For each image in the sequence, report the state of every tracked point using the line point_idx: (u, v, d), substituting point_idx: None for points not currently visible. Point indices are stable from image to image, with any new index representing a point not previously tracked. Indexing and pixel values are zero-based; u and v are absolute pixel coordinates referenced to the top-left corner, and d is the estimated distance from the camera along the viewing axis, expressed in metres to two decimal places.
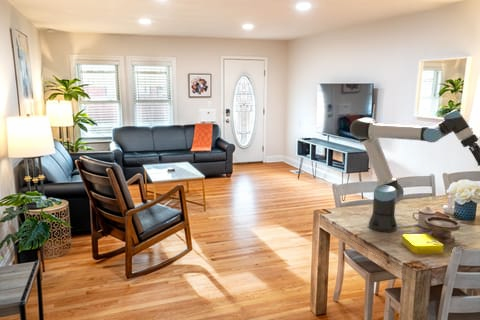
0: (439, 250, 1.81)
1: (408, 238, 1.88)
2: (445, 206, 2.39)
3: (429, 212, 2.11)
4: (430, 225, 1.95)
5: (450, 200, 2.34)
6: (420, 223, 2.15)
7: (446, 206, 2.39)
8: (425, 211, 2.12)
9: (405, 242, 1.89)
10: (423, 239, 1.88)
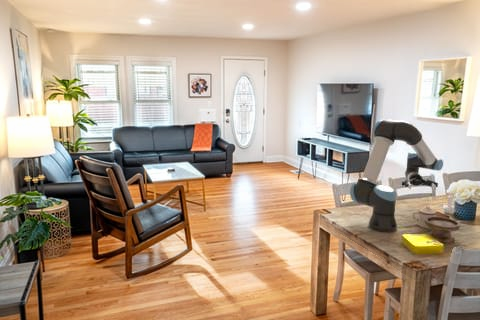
0: (439, 250, 1.81)
1: (408, 238, 1.88)
2: (445, 206, 2.39)
3: (429, 212, 2.11)
4: (430, 225, 1.95)
5: (450, 200, 2.34)
6: (420, 223, 2.15)
7: (446, 206, 2.39)
8: (425, 211, 2.12)
9: (405, 242, 1.89)
10: (423, 239, 1.87)
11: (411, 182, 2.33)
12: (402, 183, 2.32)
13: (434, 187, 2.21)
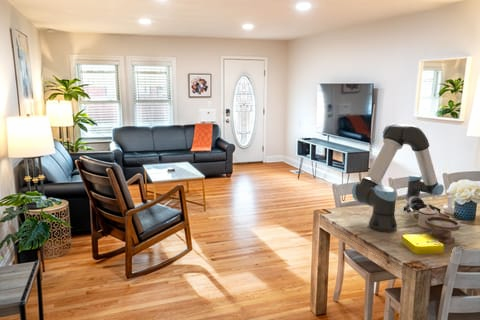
0: (439, 250, 1.81)
1: (408, 239, 1.88)
2: (445, 206, 2.39)
3: (429, 212, 2.11)
4: (430, 225, 1.95)
5: (450, 200, 2.34)
6: (420, 223, 2.15)
7: (446, 206, 2.39)
8: (425, 211, 2.12)
9: (405, 243, 1.89)
10: (423, 239, 1.87)
11: (413, 207, 2.27)
12: (404, 208, 2.25)
13: (437, 214, 2.15)
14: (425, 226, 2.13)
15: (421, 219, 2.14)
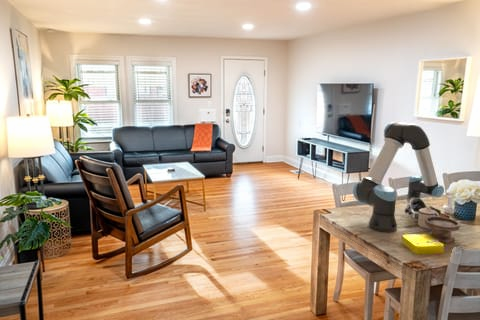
0: (440, 250, 1.81)
1: (408, 239, 1.88)
2: (445, 206, 2.39)
3: (429, 212, 2.11)
4: (430, 225, 1.95)
5: (450, 200, 2.34)
6: (420, 223, 2.15)
7: (446, 206, 2.39)
8: (425, 211, 2.12)
9: (405, 243, 1.89)
10: (423, 239, 1.87)
11: (414, 209, 2.23)
12: (405, 210, 2.21)
13: None
14: (425, 226, 2.13)
15: (421, 219, 2.14)
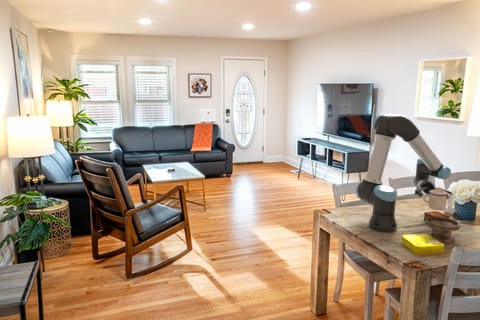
0: (440, 250, 1.81)
1: (408, 239, 1.88)
2: None
3: (441, 193, 2.02)
4: (430, 225, 1.95)
5: (450, 200, 2.34)
6: (431, 205, 2.06)
7: (446, 206, 2.39)
8: (437, 192, 2.03)
9: (406, 243, 1.89)
10: (423, 239, 1.87)
11: (424, 191, 2.15)
12: (415, 192, 2.12)
13: (449, 197, 2.02)
14: (436, 208, 2.04)
15: (432, 201, 2.05)
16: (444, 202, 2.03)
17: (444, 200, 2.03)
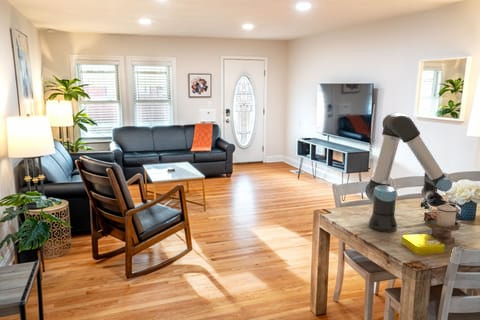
0: (440, 250, 1.81)
1: (409, 239, 1.87)
2: None
3: (449, 209, 1.92)
4: (430, 225, 1.95)
5: None
6: (439, 221, 1.95)
7: None
8: (445, 208, 1.93)
9: (406, 243, 1.88)
10: (423, 239, 1.87)
11: (431, 203, 2.04)
12: (421, 204, 2.02)
13: (459, 210, 1.92)
14: (444, 224, 1.93)
15: (440, 217, 1.95)
16: (453, 219, 1.92)
17: (453, 217, 1.92)
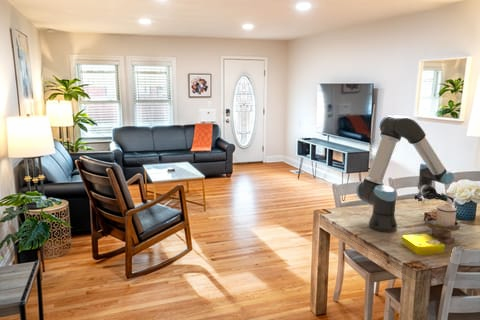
0: (441, 250, 1.81)
1: (409, 239, 1.87)
2: None
3: (449, 209, 1.92)
4: (430, 225, 1.95)
5: None
6: (439, 221, 1.95)
7: None
8: (445, 208, 1.93)
9: (406, 243, 1.88)
10: (424, 239, 1.87)
11: (424, 196, 2.16)
12: (415, 197, 2.15)
13: (450, 203, 2.04)
14: (444, 224, 1.93)
15: (440, 217, 1.95)
16: (453, 219, 1.92)
17: (453, 217, 1.92)
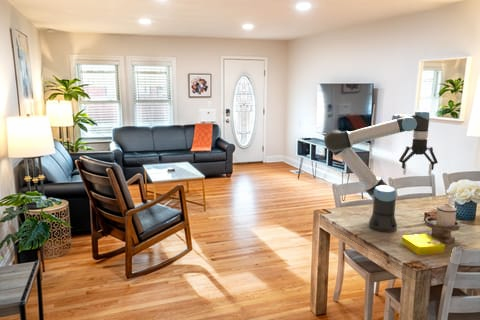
0: (441, 250, 1.81)
1: (409, 239, 1.87)
2: None
3: (449, 209, 1.92)
4: (430, 225, 1.95)
5: (450, 200, 2.34)
6: (439, 221, 1.95)
7: None
8: (445, 208, 1.93)
9: (406, 243, 1.88)
10: (424, 239, 1.87)
11: None
12: None
13: (429, 175, 2.16)
14: (444, 225, 1.93)
15: (440, 217, 1.95)
16: (453, 219, 1.92)
17: (453, 217, 1.92)
